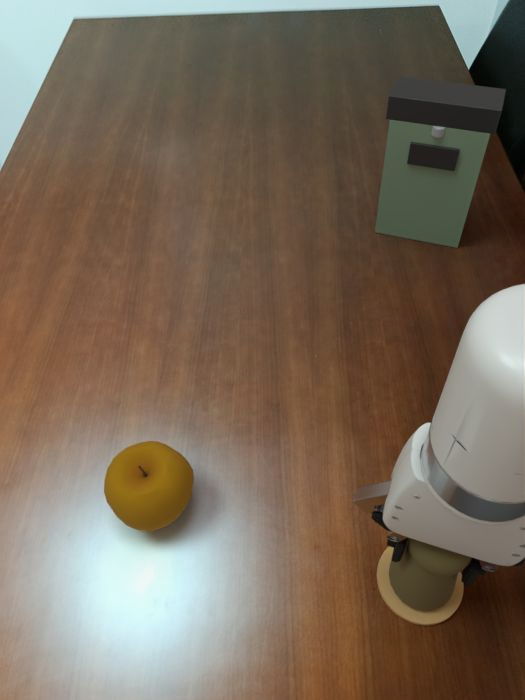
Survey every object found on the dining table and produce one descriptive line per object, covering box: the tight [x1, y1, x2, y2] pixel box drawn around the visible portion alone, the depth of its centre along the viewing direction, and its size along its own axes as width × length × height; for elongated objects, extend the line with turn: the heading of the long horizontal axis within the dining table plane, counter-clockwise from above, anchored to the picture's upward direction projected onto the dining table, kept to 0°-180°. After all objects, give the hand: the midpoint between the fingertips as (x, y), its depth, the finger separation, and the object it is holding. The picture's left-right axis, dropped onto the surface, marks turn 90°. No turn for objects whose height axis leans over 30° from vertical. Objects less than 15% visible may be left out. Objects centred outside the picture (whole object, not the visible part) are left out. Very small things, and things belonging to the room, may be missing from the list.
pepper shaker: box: [389, 537, 472, 611], centre depth 50 cm, size 6×6×11 cm
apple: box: [103, 440, 195, 532], centre depth 58 cm, size 9×8×9 cm
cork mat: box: [376, 540, 465, 627], centre depth 55 cm, size 8×8×1 cm
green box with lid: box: [374, 75, 507, 249], centre depth 77 cm, size 13×6×21 cm, turn 70°
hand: (432, 555), depth 50 cm, fingers closed on pepper shaker, 5 cm apart
